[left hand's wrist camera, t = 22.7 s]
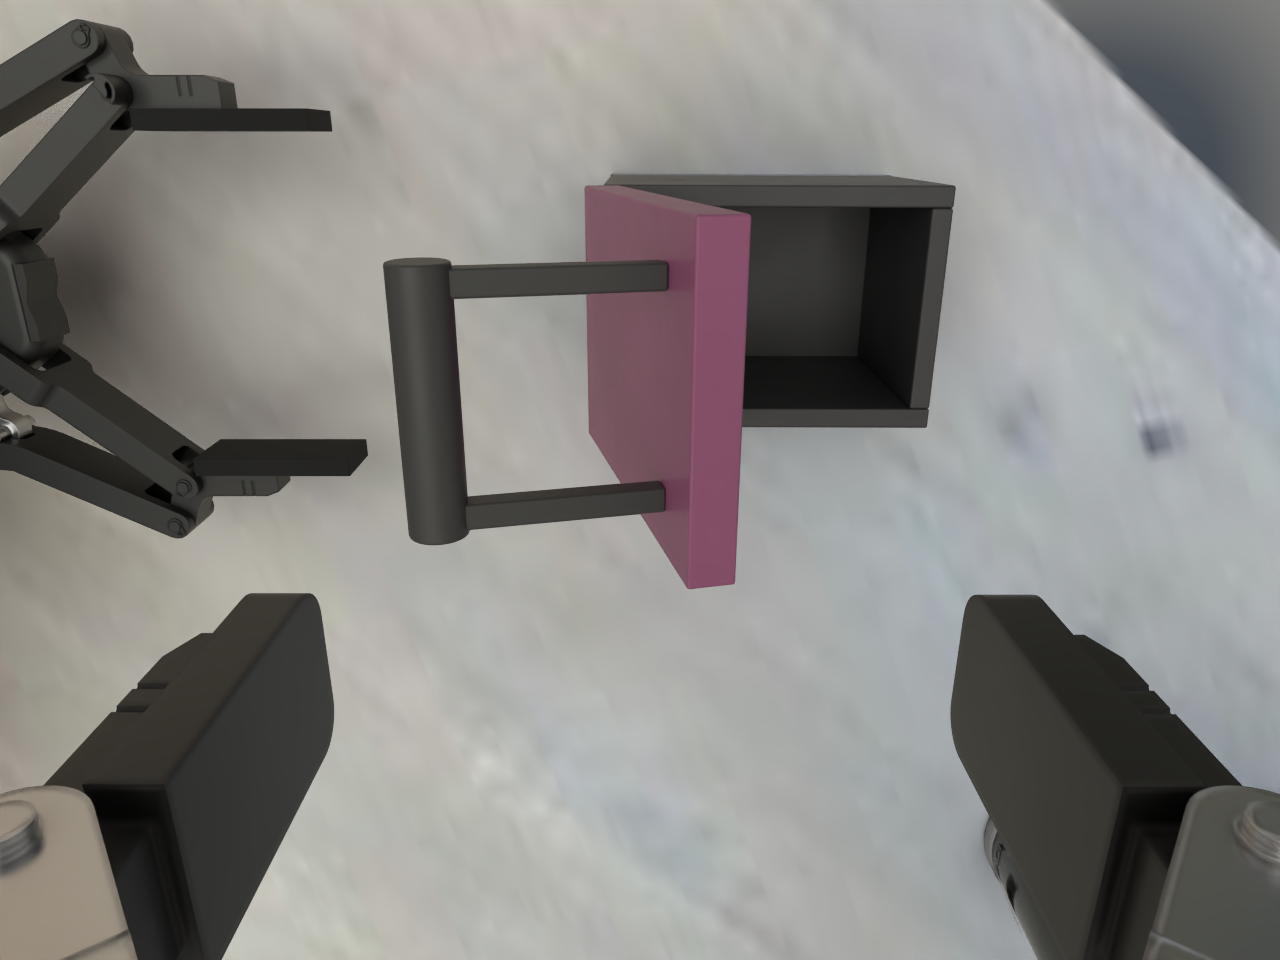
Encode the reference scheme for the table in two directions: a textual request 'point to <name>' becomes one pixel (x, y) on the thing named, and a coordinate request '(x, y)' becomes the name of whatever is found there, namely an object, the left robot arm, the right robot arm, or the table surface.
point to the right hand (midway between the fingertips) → (341, 299)
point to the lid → (599, 377)
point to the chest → (833, 292)
